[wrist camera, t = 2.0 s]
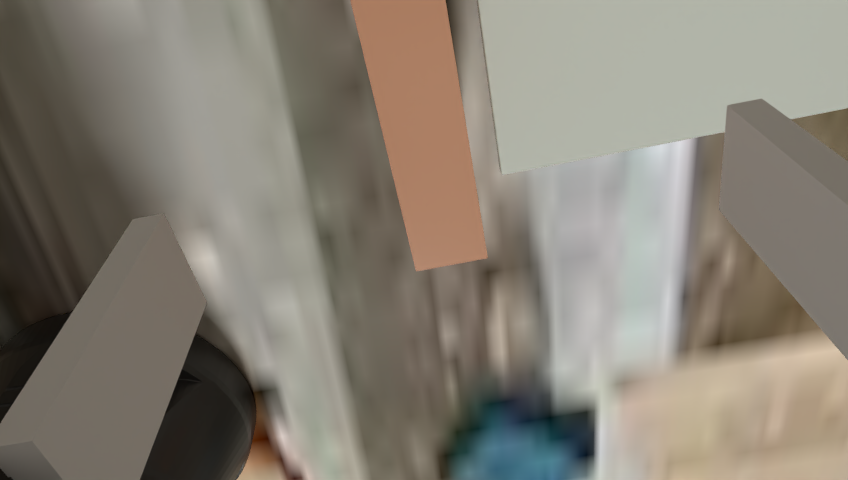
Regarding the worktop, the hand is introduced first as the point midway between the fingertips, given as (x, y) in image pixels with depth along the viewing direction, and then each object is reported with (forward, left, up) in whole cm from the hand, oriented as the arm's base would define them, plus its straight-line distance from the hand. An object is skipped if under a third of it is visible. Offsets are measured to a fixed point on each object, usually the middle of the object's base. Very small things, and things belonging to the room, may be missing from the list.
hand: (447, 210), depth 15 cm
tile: (0, 0, -15) cm, 15 cm away
